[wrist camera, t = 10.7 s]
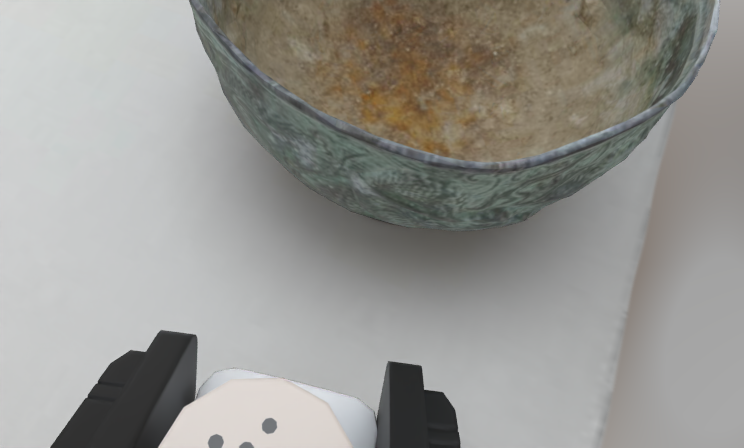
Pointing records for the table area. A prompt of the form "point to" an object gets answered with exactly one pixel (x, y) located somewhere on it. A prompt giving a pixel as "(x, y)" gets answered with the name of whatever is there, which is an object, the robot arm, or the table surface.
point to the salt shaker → (270, 415)
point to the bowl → (452, 95)
